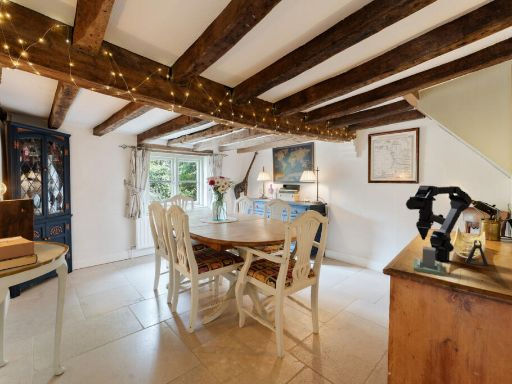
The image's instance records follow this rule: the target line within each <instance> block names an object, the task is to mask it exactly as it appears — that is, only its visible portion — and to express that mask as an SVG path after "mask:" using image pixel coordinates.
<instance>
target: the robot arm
mask: <svg viewBox="0 0 512 384" xmlns="http://www.w3.org/2000/svg"><path fill="white" fill-rule="evenodd" d="M438 195H448V199H449V200H450V202H449V204H450V209H449V212H448V213H447V215H446V217H444V214H441V213H440V214H438V215H437V214H434V211H433V206H434V205H433V204H434V203H433V202H434V201H435V202H436V201H437V199H436V198H435V197H436V196H438ZM472 203H473V199H472V197H471V196H470V195H469V194H468V193H467V192H465V191H464V190H462V188H461V187H460V186H455V185H449V186H435V185H422V184H421V185H419V187H418V188H417V190H416V191H415V193H414V195H413V196H409V198H408V199H407V200H406V202H405V206H406V208H407V209H408V210H410V211H411V210H415V211H417V210H418V221H416V223H415V227H416V228H417V231H418V232H419V233H418V234H420V238H421V240H422V241H425V240H426V238H427V236H428V233H429V232H430V231H429V230H431V229H432V226H433V225H434V223H437V224H439V225H440V228H439V229H438V230H433V231H432V233H431V235H430V236H429V242H430V246H431V247H432V248H435V261H436V262H439V263H446V262H447V263H452V260H450V256H451V254H450V253H452V252H454V248H455V247H454V246H453V244H452V243H451V241H452V238H451V233H452V232H453V230H454V227H456V226H455V225H456V224H457V222H458V219H459V217H460V216H461V214H462V212H464V211H466V210H468V208H469V207H470V206H471V205H472Z"/></svg>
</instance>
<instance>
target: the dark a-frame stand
mask: <svg viewBox="0 0 512 384" xmlns="http://www.w3.org/2000/svg"><path fill="white" fill-rule="evenodd" d="M476 243H479V244H476ZM482 244H483V243H482V241H481V240H480V239H479V240H477V239H475V240H473V245H472V246H471V248H470V251H469V252H468V254H467V256H468V258H467V257H466V258H467V259H466V258H465V263H466V264H468V265H475V266H482V267H488V268H489V267H490V266H489V262H488V260H487V258H486V255H485V252H484V250H483V247H482V246H483V245H482ZM477 249H478V250H479V253H480V256H481V259H482V261H477V260H472V259H473V257H474V255H475V253H476V250H477Z"/></svg>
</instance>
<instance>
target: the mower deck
mask: <svg viewBox="0 0 512 384" xmlns="http://www.w3.org/2000/svg"><path fill="white" fill-rule="evenodd" d="M413 260H414V261H413V272H419V273H426V274H432V275H436V276H437V275H438V276H442V277H445V270H444V265H443V262H439V261H435V269H434V268H428V267H422V259H421V258H414V259H413Z"/></svg>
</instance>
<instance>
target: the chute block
mask: <svg viewBox="0 0 512 384" xmlns="http://www.w3.org/2000/svg"><path fill="white" fill-rule="evenodd" d="M421 260H422V267H428V268H434V269H435V262H436V260H435V248H432V247H430V246H424V245H423V247H422V258H421Z"/></svg>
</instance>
